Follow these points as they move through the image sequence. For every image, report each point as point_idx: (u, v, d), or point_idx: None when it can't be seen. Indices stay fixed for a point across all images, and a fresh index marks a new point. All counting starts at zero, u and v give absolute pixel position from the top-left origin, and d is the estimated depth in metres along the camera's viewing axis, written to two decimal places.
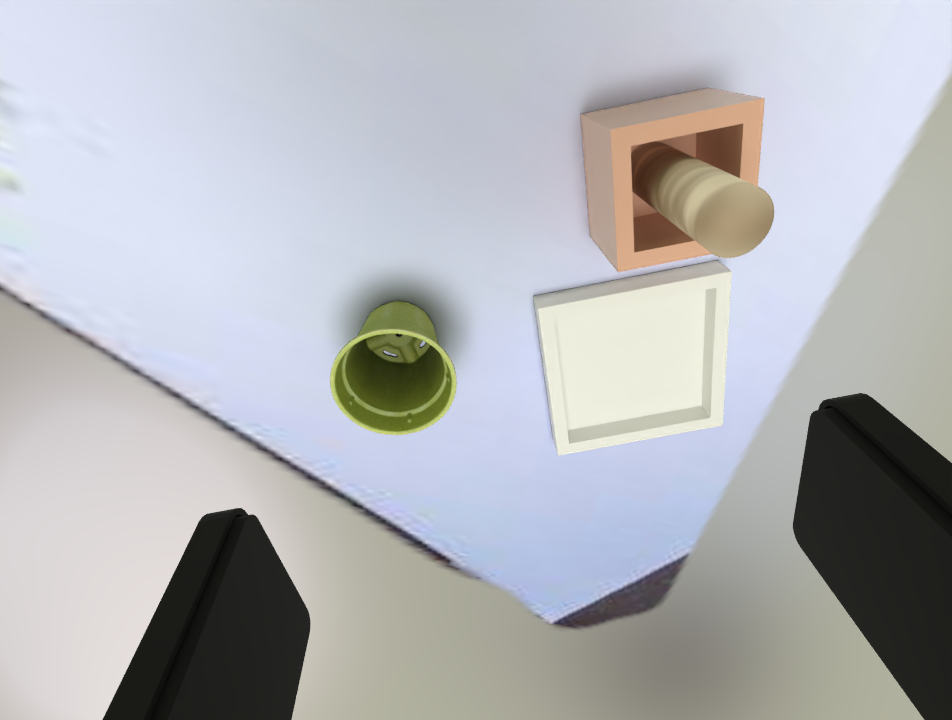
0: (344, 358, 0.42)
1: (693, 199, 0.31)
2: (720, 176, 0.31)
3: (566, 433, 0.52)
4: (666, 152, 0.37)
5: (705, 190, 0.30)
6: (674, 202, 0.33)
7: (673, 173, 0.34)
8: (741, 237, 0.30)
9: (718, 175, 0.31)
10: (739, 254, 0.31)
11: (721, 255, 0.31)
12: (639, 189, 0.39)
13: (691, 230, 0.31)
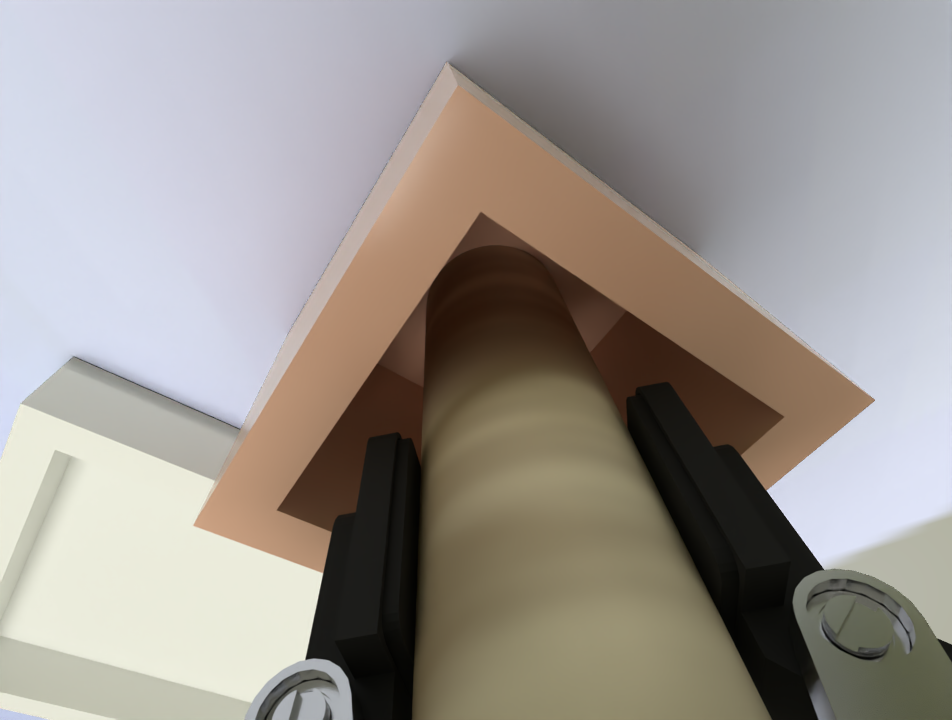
0: None
1: (536, 681, 0.05)
2: (709, 645, 0.06)
3: None
4: (553, 313, 0.12)
5: (628, 719, 0.05)
6: (463, 540, 0.07)
7: (534, 406, 0.09)
8: None
9: (699, 623, 0.06)
10: None
11: None
12: (431, 342, 0.13)
13: None
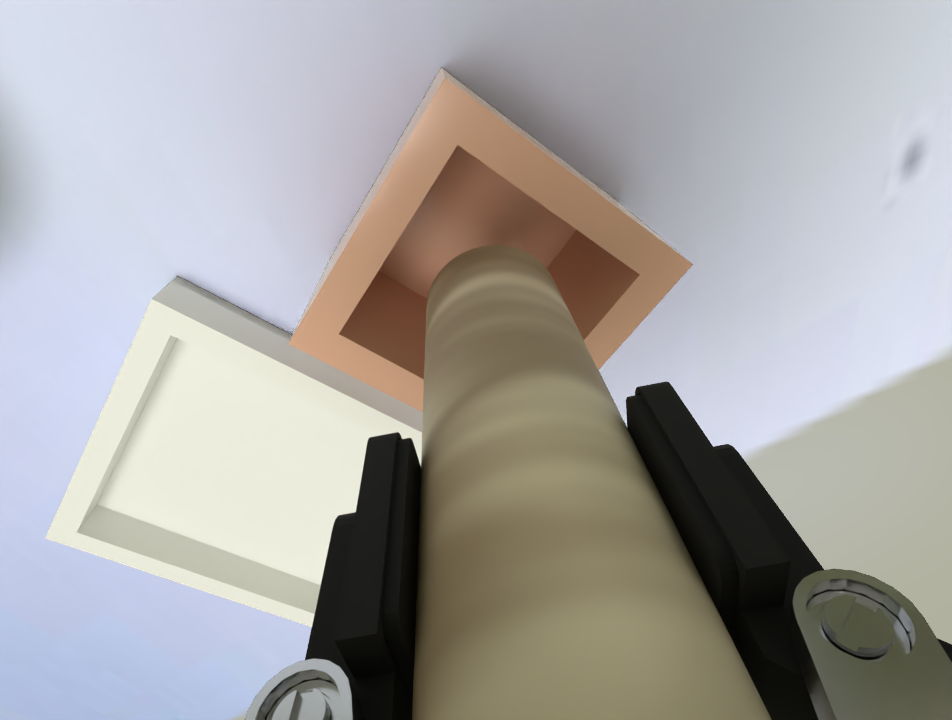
0: None
1: (536, 680, 0.05)
2: (708, 644, 0.06)
3: (81, 515, 0.28)
4: (553, 313, 0.12)
5: (627, 718, 0.05)
6: (463, 539, 0.07)
7: (534, 406, 0.09)
8: None
9: (699, 622, 0.06)
10: None
11: None
12: (431, 342, 0.13)
13: None
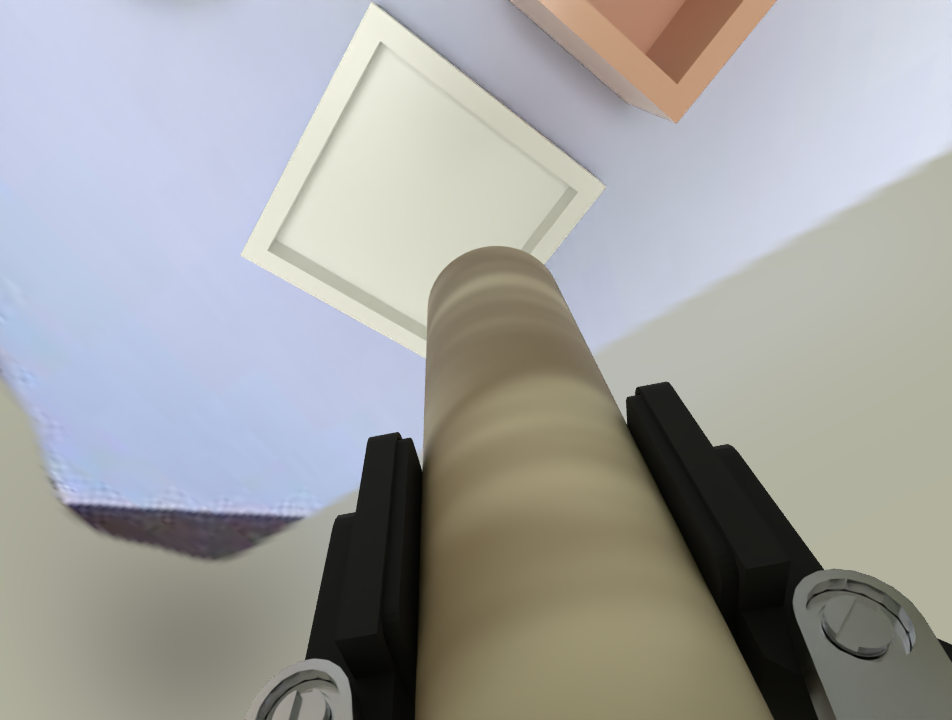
0: None
1: (540, 685, 0.05)
2: (713, 648, 0.06)
3: (274, 231, 0.33)
4: (555, 314, 0.12)
5: None
6: (465, 542, 0.07)
7: (537, 408, 0.09)
8: None
9: (703, 626, 0.06)
10: None
11: None
12: (433, 343, 0.13)
13: None
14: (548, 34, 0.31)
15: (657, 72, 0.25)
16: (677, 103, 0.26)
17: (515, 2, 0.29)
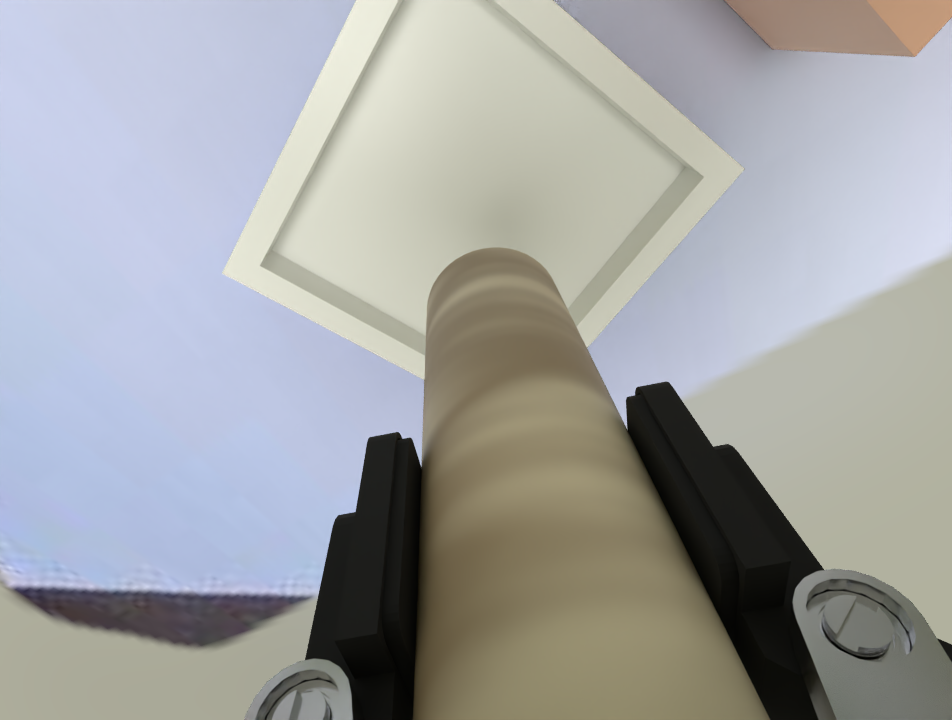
0: None
1: (537, 690, 0.05)
2: (711, 652, 0.06)
3: (269, 238, 0.23)
4: (554, 316, 0.12)
5: None
6: (464, 546, 0.07)
7: (535, 411, 0.09)
8: None
9: (701, 630, 0.06)
10: None
11: None
12: (432, 344, 0.13)
13: None
14: None
15: None
16: (922, 22, 0.16)
17: None
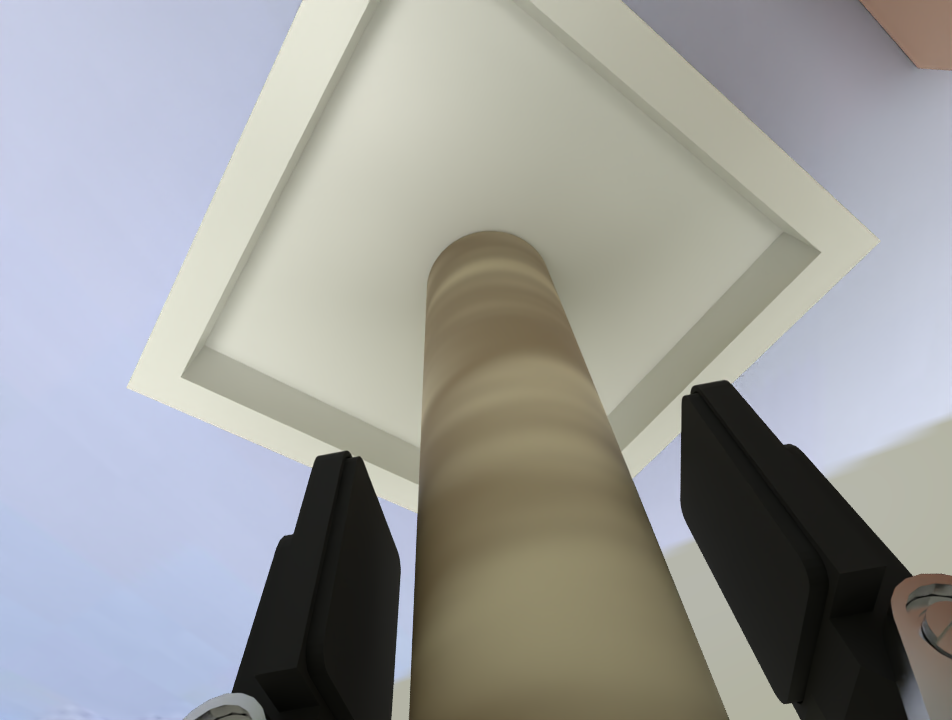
0: None
1: (507, 597, 0.07)
2: (645, 574, 0.07)
3: (191, 342, 0.16)
4: (541, 298, 0.14)
5: (574, 624, 0.06)
6: (454, 494, 0.09)
7: (518, 384, 0.10)
8: None
9: (640, 559, 0.07)
10: None
11: None
12: (431, 323, 0.14)
13: (417, 698, 0.07)
14: None
15: None
16: None
17: None
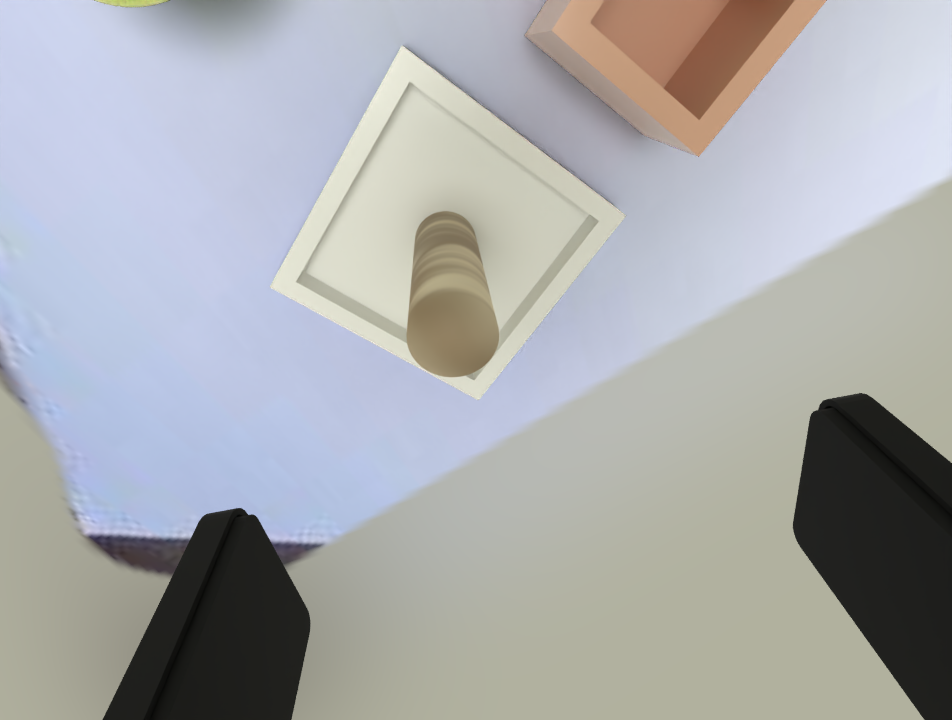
0: None
1: (434, 281, 0.24)
2: (475, 282, 0.25)
3: (303, 263, 0.34)
4: (463, 232, 0.32)
5: (450, 282, 0.24)
6: (422, 274, 0.26)
7: (446, 249, 0.28)
8: (447, 356, 0.24)
9: (475, 280, 0.25)
10: (434, 372, 0.25)
11: (417, 358, 0.24)
12: (416, 245, 0.32)
13: (409, 310, 0.24)
14: (568, 72, 0.32)
15: (680, 109, 0.26)
16: (699, 138, 0.27)
17: (538, 43, 0.30)
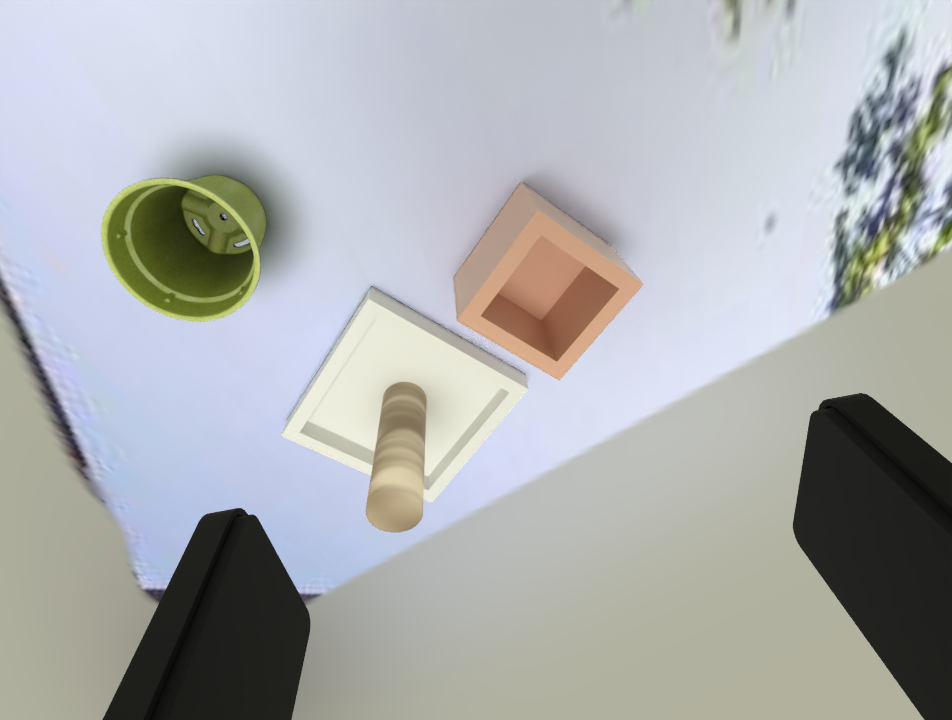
0: (150, 189, 0.34)
1: (384, 475, 0.39)
2: (410, 473, 0.40)
3: (304, 421, 0.49)
4: (412, 410, 0.47)
5: (393, 477, 0.39)
6: (378, 460, 0.41)
7: (396, 436, 0.43)
8: (391, 521, 0.39)
9: (410, 470, 0.40)
10: (384, 529, 0.40)
11: (373, 523, 0.39)
12: (381, 416, 0.47)
13: (368, 492, 0.39)
14: None
15: (543, 356, 0.41)
16: (558, 370, 0.42)
17: None
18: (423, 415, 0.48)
